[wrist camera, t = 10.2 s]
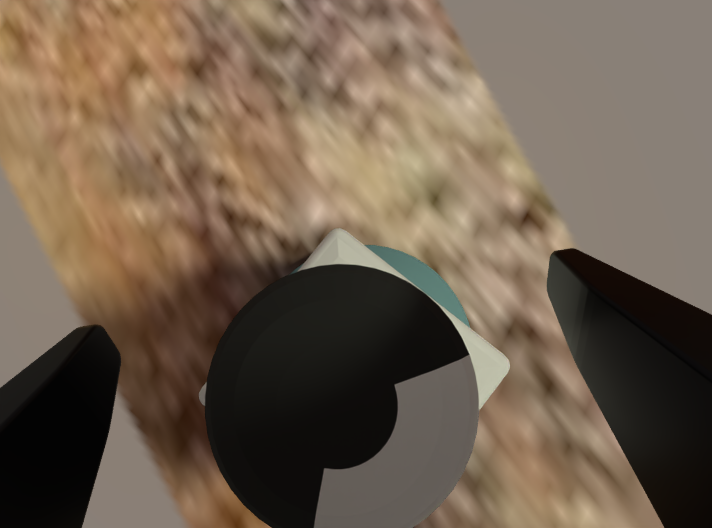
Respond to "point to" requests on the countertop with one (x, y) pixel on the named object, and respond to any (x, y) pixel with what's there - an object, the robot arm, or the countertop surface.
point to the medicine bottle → (346, 395)
